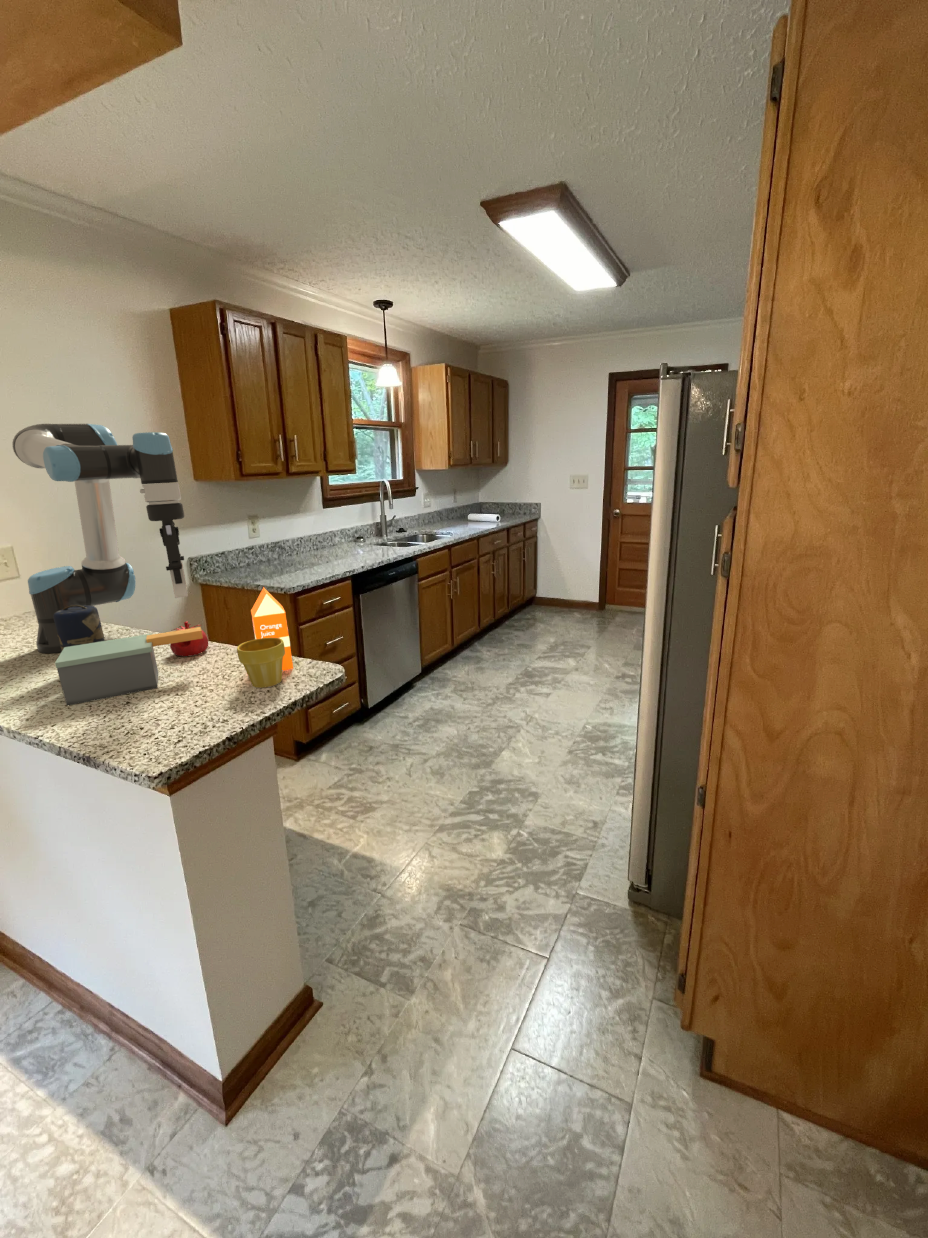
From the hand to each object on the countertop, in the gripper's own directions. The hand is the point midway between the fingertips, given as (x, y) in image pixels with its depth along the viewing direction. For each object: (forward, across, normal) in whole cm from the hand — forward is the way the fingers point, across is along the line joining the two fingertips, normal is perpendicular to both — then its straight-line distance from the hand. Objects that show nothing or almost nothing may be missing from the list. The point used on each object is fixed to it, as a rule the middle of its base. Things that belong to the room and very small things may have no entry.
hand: (181, 592), depth 135 cm
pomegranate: (+21, -19, -1) cm, 29 cm away
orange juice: (+21, +7, +18) cm, 29 cm away
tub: (+21, 0, -18) cm, 27 cm away
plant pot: (+21, +18, +14) cm, 31 cm away
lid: (+12, 0, -12) cm, 17 cm away
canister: (+21, -18, -25) cm, 37 cm away
